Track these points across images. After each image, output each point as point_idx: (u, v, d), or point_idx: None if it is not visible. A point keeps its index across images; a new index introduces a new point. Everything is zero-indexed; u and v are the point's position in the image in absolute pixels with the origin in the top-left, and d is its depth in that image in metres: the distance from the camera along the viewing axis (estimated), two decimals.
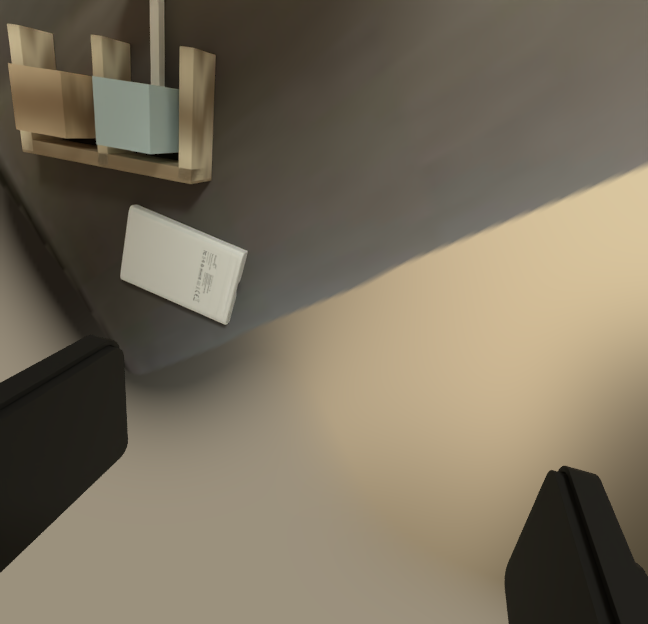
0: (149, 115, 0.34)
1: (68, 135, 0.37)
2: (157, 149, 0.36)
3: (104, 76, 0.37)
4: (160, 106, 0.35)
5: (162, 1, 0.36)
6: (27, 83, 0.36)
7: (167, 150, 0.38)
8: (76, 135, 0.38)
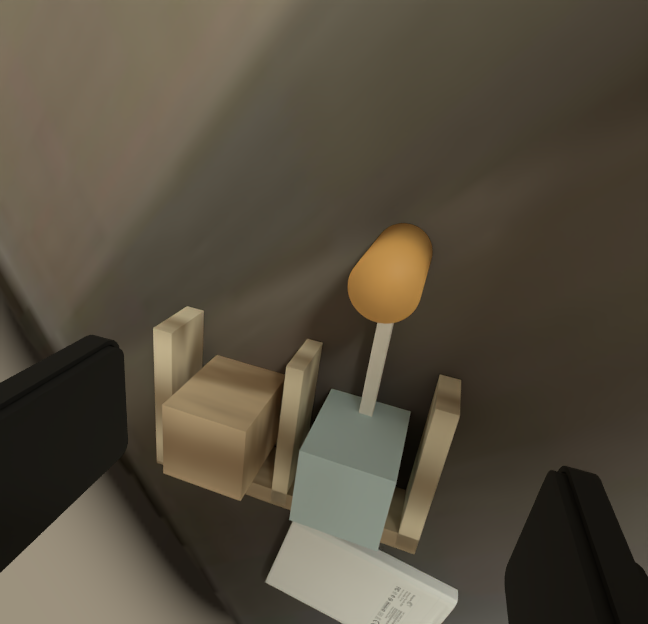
0: (387, 513, 0.23)
1: (243, 493, 0.26)
2: None
3: (298, 413, 0.25)
4: None
5: None
6: (190, 432, 0.25)
7: None
8: (249, 483, 0.26)
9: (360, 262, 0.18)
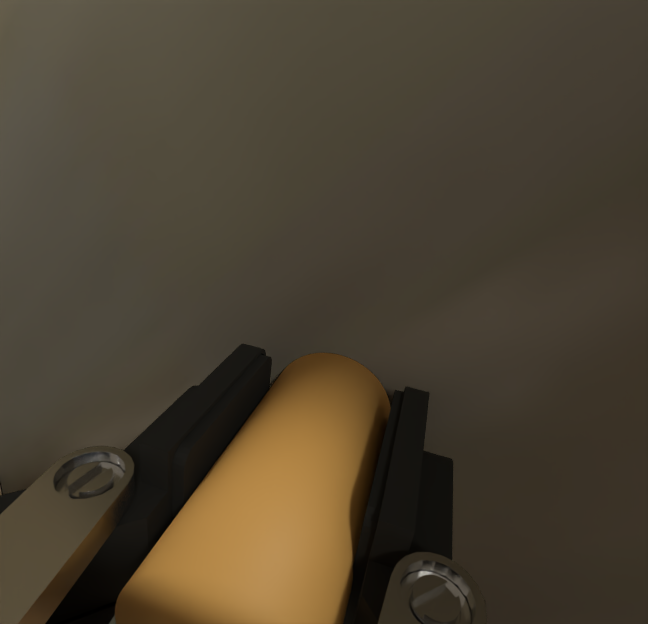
0: None
1: None
2: None
3: None
4: None
5: None
6: None
7: None
8: None
9: (137, 581, 0.06)
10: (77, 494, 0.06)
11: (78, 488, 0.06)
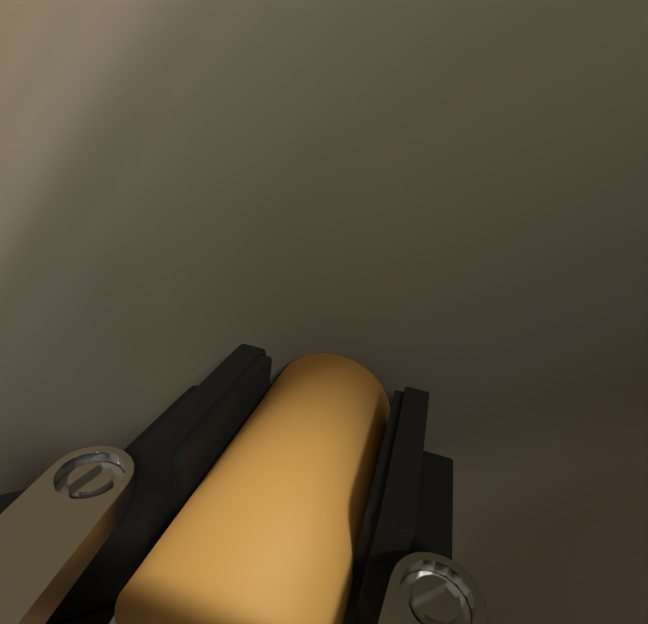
0: None
1: None
2: None
3: None
4: None
5: None
6: None
7: None
8: None
9: (137, 582, 0.06)
10: (77, 494, 0.06)
11: (78, 488, 0.06)
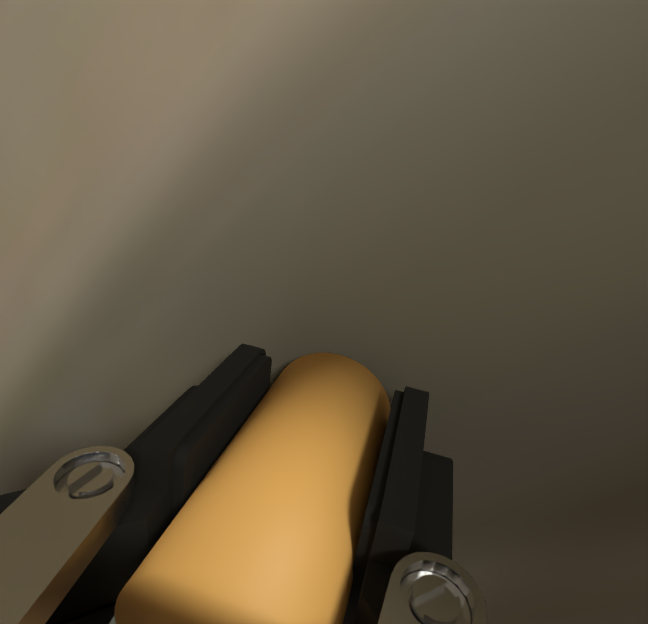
0: None
1: None
2: None
3: None
4: None
5: None
6: None
7: None
8: None
9: (137, 582, 0.06)
10: (77, 494, 0.06)
11: (78, 488, 0.06)
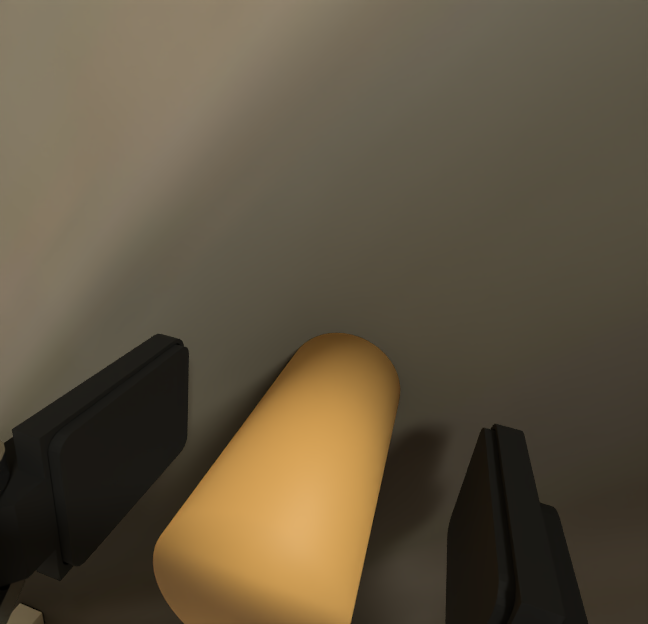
0: None
1: None
2: None
3: None
4: None
5: None
6: None
7: None
8: None
9: (175, 526, 0.06)
10: None
11: None
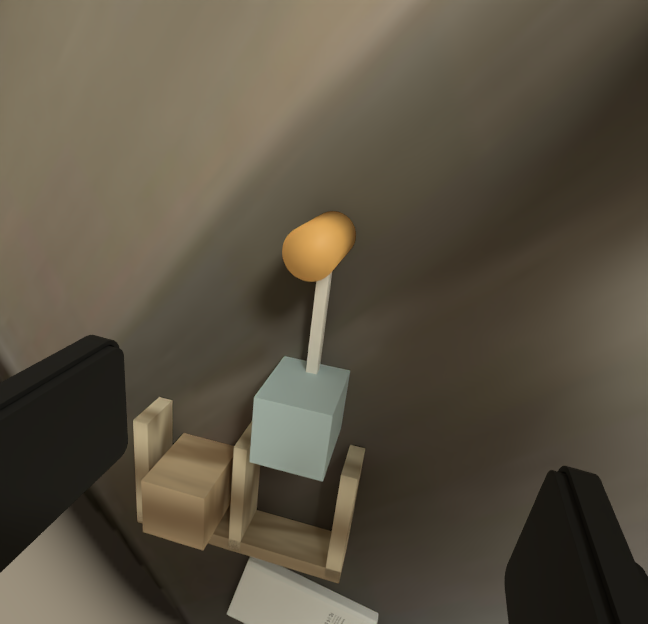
0: (327, 445, 0.28)
1: (205, 544, 0.34)
2: (326, 467, 0.29)
3: (245, 480, 0.33)
4: (334, 423, 0.28)
5: (329, 288, 0.29)
6: (162, 500, 0.33)
7: (331, 455, 0.31)
8: (210, 536, 0.34)
9: (290, 234, 0.24)
10: None
11: None
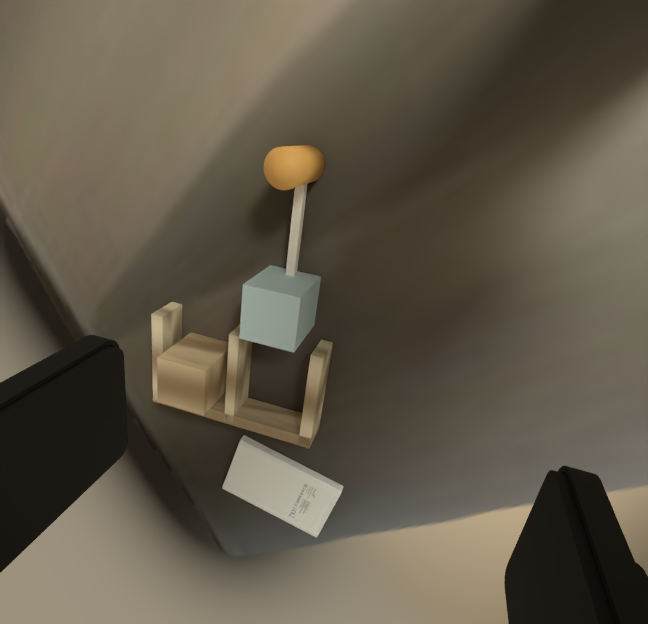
0: (297, 322, 0.36)
1: (205, 411, 0.43)
2: (298, 344, 0.38)
3: (237, 362, 0.43)
4: (303, 308, 0.37)
5: (304, 206, 0.38)
6: (173, 374, 0.42)
7: (302, 338, 0.40)
8: (210, 407, 0.44)
9: (269, 153, 0.32)
10: None
11: None
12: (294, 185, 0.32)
